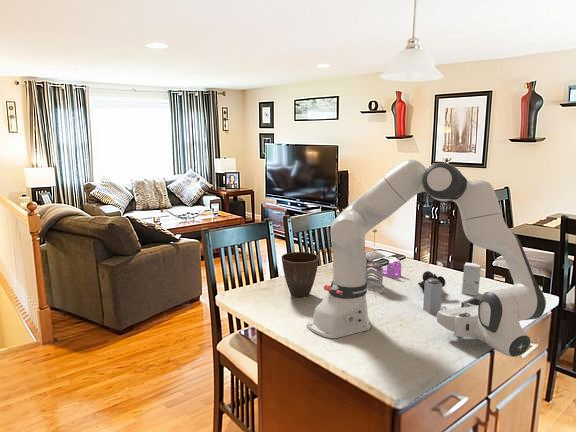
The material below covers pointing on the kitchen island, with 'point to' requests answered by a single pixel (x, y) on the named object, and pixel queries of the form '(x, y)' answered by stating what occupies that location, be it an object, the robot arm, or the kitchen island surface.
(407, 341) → the kitchen island surface
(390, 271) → the bracket
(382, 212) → the robot arm
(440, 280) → the night vision scope
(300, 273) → the plant pot
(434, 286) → the cap block
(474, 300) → the collar
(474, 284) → the skincare box
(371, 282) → the french press
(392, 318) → the kitchen island surface
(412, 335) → the kitchen island surface
